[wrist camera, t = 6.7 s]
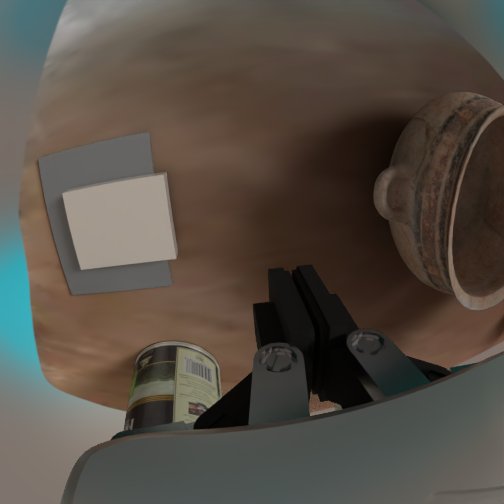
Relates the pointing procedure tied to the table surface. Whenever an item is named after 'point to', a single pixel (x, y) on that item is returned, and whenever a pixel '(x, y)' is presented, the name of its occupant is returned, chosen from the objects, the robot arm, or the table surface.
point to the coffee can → (172, 385)
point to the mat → (87, 173)
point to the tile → (122, 221)
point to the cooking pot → (450, 197)
